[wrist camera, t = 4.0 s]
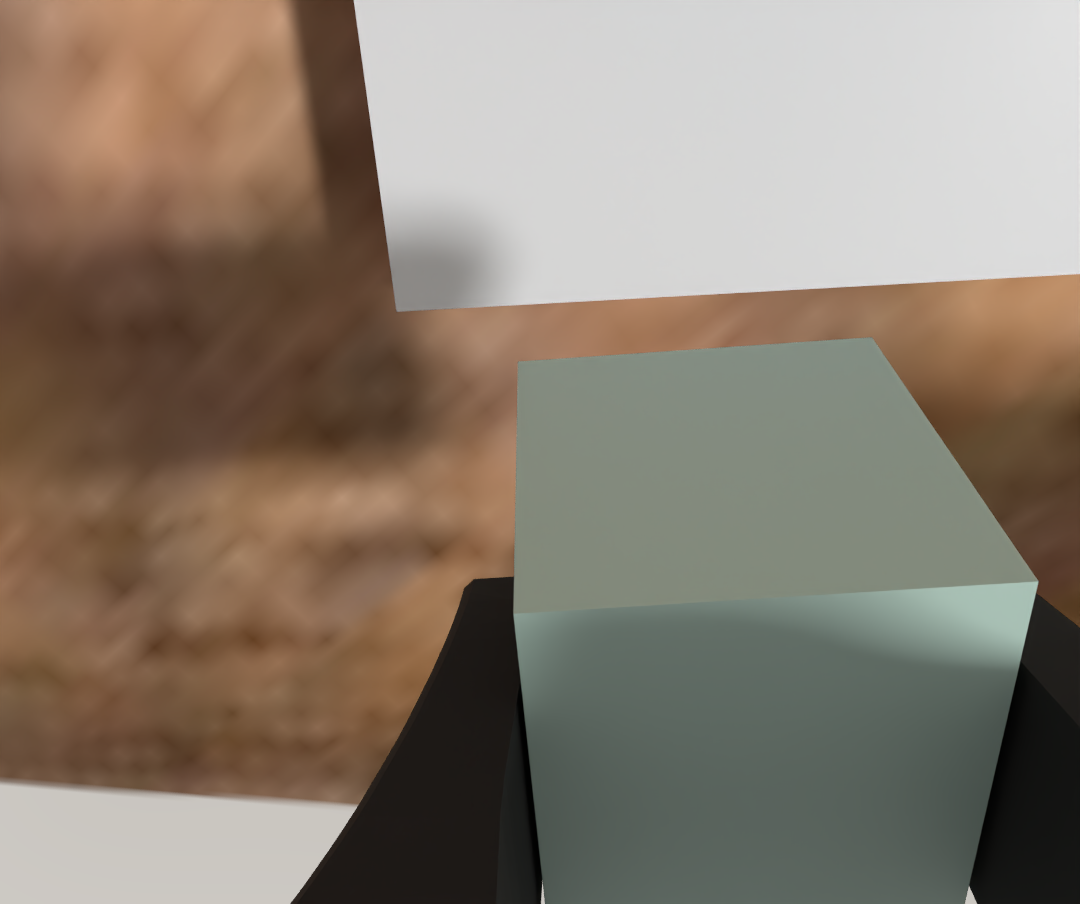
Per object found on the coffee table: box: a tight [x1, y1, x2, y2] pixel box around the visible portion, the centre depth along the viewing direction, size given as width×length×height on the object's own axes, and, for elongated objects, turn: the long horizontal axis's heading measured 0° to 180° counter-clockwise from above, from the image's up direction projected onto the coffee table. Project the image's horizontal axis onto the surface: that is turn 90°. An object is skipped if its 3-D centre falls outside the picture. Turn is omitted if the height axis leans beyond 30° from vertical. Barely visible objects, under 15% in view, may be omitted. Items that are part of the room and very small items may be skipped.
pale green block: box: [513, 337, 1039, 904], centre depth 11 cm, size 5×4×5 cm
